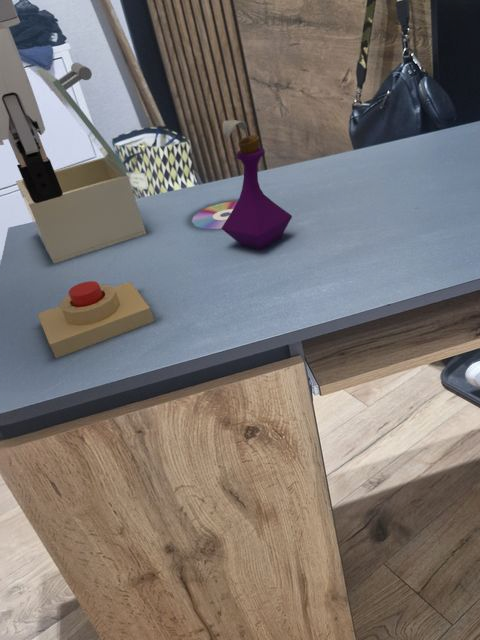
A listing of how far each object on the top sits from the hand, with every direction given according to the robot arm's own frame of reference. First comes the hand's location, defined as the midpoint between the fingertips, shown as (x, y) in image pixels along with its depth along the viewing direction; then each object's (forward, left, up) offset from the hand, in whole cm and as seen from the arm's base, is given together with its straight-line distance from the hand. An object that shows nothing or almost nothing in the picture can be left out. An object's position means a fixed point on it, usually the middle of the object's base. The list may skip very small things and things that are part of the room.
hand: (47, 197), depth 71 cm
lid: (+10, +31, 0) cm, 32 cm away
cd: (+26, +21, -17) cm, 37 cm away
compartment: (+6, +31, -17) cm, 35 cm away
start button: (0, 0, -13) cm, 13 cm away
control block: (0, 0, -17) cm, 17 cm away
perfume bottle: (+26, +7, -17) cm, 32 cm away
